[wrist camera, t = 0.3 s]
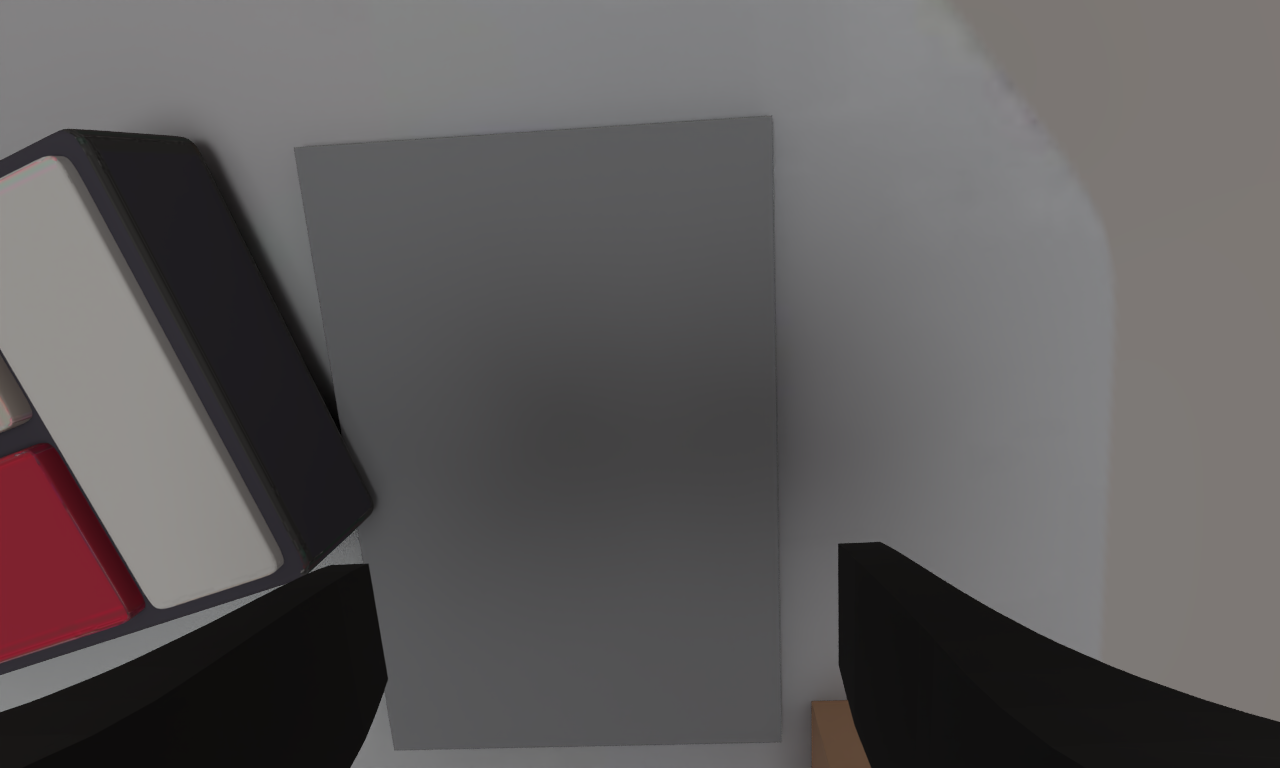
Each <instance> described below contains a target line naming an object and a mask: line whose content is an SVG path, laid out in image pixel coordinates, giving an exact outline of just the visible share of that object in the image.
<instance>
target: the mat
mask: <svg viewBox="0 0 1280 768" xmlns="http://www.w3.org/2000/svg"><path fill="white" fill-rule="evenodd" d="M294 152H295V158H296V164H297V170H298V176H299V182H300V188H301V194H302V200H303V206H304V212H305V218H306V224H307V230H308V236H309V242H310V248H311V254H312V260H313V266H314V272H315V278H316V284H317V290H318V296H319V302H320V308H321V314H322V320H323V326H324V332H325V338H326V344H327V350H328V356H329V361H330V367H331V373H332V379H333V385H334V391H335V397H336V403H337V409H338V415H339V421H340V427H341V433H342V439H343V441H344V443H345V445H346V447H347V449H348V451H349V453H350V455H351V457H352V459H353V461H354V463H355V465H356V467H357V469H358V471H359V473H360V475H361V477H362V479H363V481H364V483H365V485H366V487H367V489H368V491H369V493H370V496H371V498H372V500H373V504H374V507H373V512H372V513H371V515H370V516H369V517H368V518H367V519H366V520H365V521H364V522H363V523H362V524H361V525H360V526H359V527H357V529H358V535H359V541H360V547H361V553H362V559H363V564H369V569H370V575H371V580H372V586H373V592H374V598H375V604H376V610H377V616H378V622H379V628H380V633H381V639H382V645H383V651H384V657H385V663H386V669H387V675H388V682H387V684H386V687H385V690H384V691H385V697H386V703H387V709H388V715H389V721H390V727H391V733H392V739H393V745H394V750H433V749H481V748H529V747H578V746H626V745H674V744H722V743H770V742H782V736H781V669H780V602H779V536H778V469H777V402H776V335H775V268H774V202H773V135H772V116H759V117H744V118H729V119H714V120H699V121H684V122H669V123H654V124H639V125H624V126H610V127H595V128H580V129H565V130H550V131H535V132H520V133H505V134H490V135H475V136H460V137H445V138H430V139H415V140H400V141H386V142H371V143H356V144H341V145H326V146H311V147H296V148H294Z"/></svg>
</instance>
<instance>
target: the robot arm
mask: <svg viewBox="0 0 1280 768" xmlns="http://www.w3.org/2000/svg"><path fill="white" fill-rule="evenodd" d="M838 593H839V668H840V672H841V676H842V680H843V684H844V688H845V692H846V696H847V700H848V703H849V707H850V711H851V714H852V718H853V722H854V725H855V728H856V731H857V733H858V736H859V738H860V741H861V743H862V746H863V748H864V751H865V753H866V756H867V759H868V761H869V764H870V766H871V768H1280V722H1278V721H1274V720H1270V719H1267V718H1263V717H1259V716H1256V715H1252V714H1249V713H1245V712H1242V711H1239V710H1236V709H1232V708H1229V707H1226V706H1223V705H1219V704H1216V703H1213V702H1210V701H1206V700H1203V699H1200V698H1197V697H1194V696H1191V695H1189V694H1186V693H1183V692H1180V691H1177V690H1174V689H1171V688H1169V687H1166V686H1163V685H1160V684H1157V683H1154V682H1152V681H1149V680H1146V679H1143V678H1140V677H1138V676H1135V675H1132V674H1130V673H1127V672H1125V671H1122V670H1120V669H1117V668H1114V667H1112V666H1110V665H1107V664H1105V663H1103V662H1100V661H1098V660H1096V659H1093V658H1091V657H1089V656H1086V655H1084V654H1082V653H1080V652H1077V651H1075V650H1073V649H1070V648H1068V647H1066V646H1064V645H1061V644H1059V643H1057V642H1055V641H1053V640H1051V639H1049V638H1047V637H1044V636H1042V635H1040V634H1038V633H1036V632H1034V631H1032V630H1030V629H1029V628H1027V627H1025V626H1023V625H1021V624H1019V623H1017V622H1015V621H1013V620H1012V619H1010V618H1008V617H1006V616H1004V615H1002V614H1000V613H998V612H996V611H995V610H993V609H991V608H989V607H988V606H986V605H984V604H982V603H981V602H979V601H977V600H975V599H974V598H972V597H970V596H969V595H967V594H965V593H964V592H962V591H960V590H959V589H957V588H955V587H954V586H952V585H950V584H949V583H947V582H946V581H944V580H942V579H941V578H939V577H938V576H936V575H934V574H933V573H931V572H930V571H928V570H926V569H925V568H923V567H922V566H920V565H918V564H917V563H915V562H914V561H912V560H911V559H909V558H907V557H906V556H904V555H902V554H901V553H899V552H898V551H896V550H894V549H892V548H891V547H889V546H887V545H885V544H883V543H881V542H868V543H844V544H838ZM387 682H388V675H387V669H386V663H385V657H384V651H383V645H382V639H381V633H380V628H379V622H378V616H377V610H376V604H375V598H374V592H373V586H372V580H371V575H370V569H369V564H347V565H330V566H327V567H324V568H321V569H318V570H316V571H313V572H311V573H309V574H306V575H304V576H302V577H300V578H298V579H296V580H293V581H291V582H289V583H287V584H285V585H283V586H281V587H279V588H277V589H275V590H273V591H271V592H269V593H267V594H265V595H264V596H262V597H260V598H258V599H256V600H254V601H252V602H250V603H248V604H246V605H244V606H242V607H240V608H238V609H236V610H234V611H232V612H230V613H228V614H227V615H225V616H223V617H221V618H219V619H217V620H215V621H213V622H211V623H209V624H207V625H205V626H203V627H201V628H199V629H197V630H195V631H193V632H190V633H188V634H186V635H184V636H182V637H180V638H178V639H176V640H174V641H172V642H170V643H168V644H166V645H163V646H161V647H159V648H157V649H155V650H153V651H151V652H149V653H147V654H145V655H143V656H141V657H139V658H136V659H134V660H132V661H130V662H127V663H125V664H123V665H121V666H119V667H116V668H114V669H112V670H109V671H107V672H105V673H102V674H100V675H98V676H95V677H93V678H90V679H88V680H85V681H83V682H80V683H78V684H75V685H73V686H70V687H68V688H65V689H63V690H60V691H58V692H55V693H53V694H50V695H48V696H45V697H43V698H40V699H37V700H35V701H32V702H29V703H26V704H24V705H21V706H18V707H15V708H12V709H9V710H6V711H3V712H0V768H350V767H351V765H352V764H353V762H354V760H355V758H356V756H357V754H358V752H359V751H360V749H361V747H362V745H363V743H364V741H365V739H366V737H367V734H368V732H369V729H370V727H371V724H372V722H373V719H374V717H375V714H376V712H377V709H378V706H379V704H380V701H381V698H382V695H383V693H384V690H385V687H386V684H387Z"/></svg>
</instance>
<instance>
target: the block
mask: <svg viewBox="0 0 1280 768" xmlns="http://www.w3.org/2000/svg"><path fill="white" fill-rule="evenodd" d="M812 768H871V766H870V764H869V761H868V759H867V756H866V753H865V751H864V748H863V746H862V743H861V741H860V738H859V736H858V733H857V731H856V728H855V725H854V722H853V718H852V714H851V711H850V707H849V703H848V700H839V701H812Z"/></svg>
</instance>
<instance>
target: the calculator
mask: <svg viewBox="0 0 1280 768" xmlns="http://www.w3.org/2000/svg"><path fill="white" fill-rule="evenodd" d="M373 507H374V504H373V500H372V498H371V496H370V493H369V491H368V489H367V487H366V485H365V483H364V481H363V479H362V477H361V475H360V473H359V471H358V469H357V467H356V465H355V463H354V461H353V459H352V457H351V455H350V453H349V451H348V449H347V447H346V445H345V443H344V441H343V439H342V437H341V435H340V433H339V431H338V429H337V427H336V425H335V423H334V421H333V419H332V417H331V415H330V413H329V411H328V409H327V407H326V405H325V403H324V401H323V399H322V397H321V395H320V393H319V391H318V389H317V387H316V385H315V383H314V381H313V379H312V377H311V375H310V373H309V371H308V369H307V367H306V365H305V363H304V360H303V358H302V356H301V354H300V352H299V350H298V348H297V346H296V344H295V342H294V340H293V338H292V336H291V334H290V332H289V330H288V328H287V326H286V324H285V322H284V320H283V318H282V316H281V314H280V312H279V310H278V308H277V306H276V304H275V302H274V300H273V298H272V296H271V294H270V292H269V290H268V288H267V286H266V284H265V282H264V280H263V278H262V276H261V274H260V272H259V270H258V268H257V266H256V264H255V262H254V260H253V258H252V256H251V254H250V252H249V250H248V248H247V246H246V244H245V242H244V240H243V238H242V236H241V234H240V232H239V230H238V228H237V226H236V224H235V222H234V220H233V218H232V216H231V214H230V212H229V210H228V208H227V206H226V204H225V202H224V200H223V198H222V196H221V194H220V192H219V190H218V188H217V186H216V184H215V182H214V180H213V178H212V176H211V174H210V172H209V170H208V168H207V166H206V164H205V162H204V160H203V158H202V156H201V154H200V152H199V150H198V149H197V147H196V146H195V144H194V143H193V142H192V141H190V140H189V139H187V138H184V137H178V136H167V135H153V134H139V133H125V132H112V131H98V130H81V129H63V130H60V131H58V132H56V133H54V134H52V135H50V136H47V137H45V138H43V139H41V140H40V141H38V142H36V143H34V144H32V145H30V146H28V147H26V148H24V149H22V150H20V151H18V152H16V153H14V154H12V155H10V156H8V157H6V158H4V159H2V160H0V675H2V674H5V673H8V672H11V671H15V670H18V669H21V668H24V667H27V666H30V665H33V664H36V663H40V662H43V661H46V660H49V659H52V658H55V657H58V656H61V655H65V654H68V653H71V652H74V651H77V650H80V649H83V648H86V647H90V646H93V645H96V644H99V643H102V642H105V641H108V640H111V639H115V638H118V637H121V636H124V635H127V634H130V633H133V632H136V631H140V630H143V629H146V628H149V627H152V626H155V625H158V624H161V623H165V622H168V621H171V620H174V619H177V618H180V617H183V616H186V615H190V614H193V613H196V612H199V611H202V610H205V609H208V608H211V607H215V606H218V605H221V604H224V603H227V602H230V601H233V600H236V599H240V598H243V597H246V596H249V595H252V594H255V593H258V592H261V591H265V590H268V589H271V588H274V587H277V586H280V585H283V584H286V583H289V582H291V581H293V580H296V579H298V578H300V577H302V576H304V575H306V574H308V573H309V572H310V571H311V570H312V569H313V568H315V567H316V566H317V565H318V564H319V563H320V562H321V561H322V560H323V559H324V558H325V557H326V556H327V555H328V554H330V553H331V552H332V551H333V550H334V549H335V548H336V547H337V546H338V545H339V544H340V543H341V542H342V541H344V540H345V539H346V538H347V537H348V536H349V535H350V534H351V533H352V532H353V531H354V530H355V529H356V528H357V527H359V526H360V525H361V524H362V523H363V522H364V521H365V520H366V519H367V518H368V517H369V516H370V515H371V513H372V512H373Z"/></svg>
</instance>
